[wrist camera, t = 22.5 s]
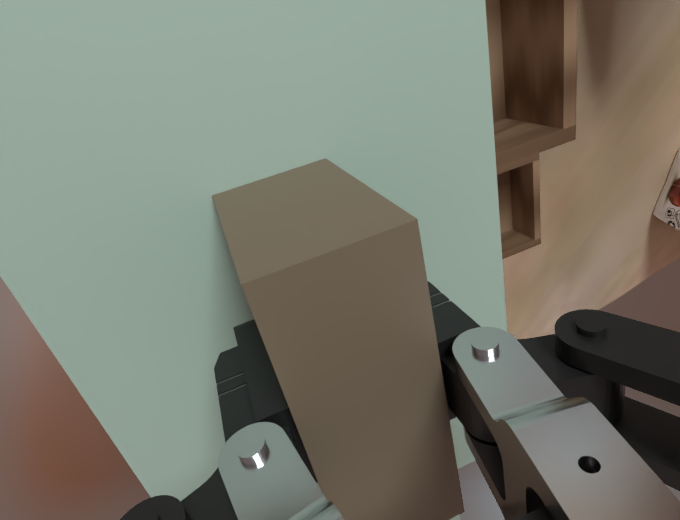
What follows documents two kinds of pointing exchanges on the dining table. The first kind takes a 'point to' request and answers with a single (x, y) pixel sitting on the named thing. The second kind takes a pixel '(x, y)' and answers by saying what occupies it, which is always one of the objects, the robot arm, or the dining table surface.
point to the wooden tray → (529, 103)
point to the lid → (256, 223)
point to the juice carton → (670, 197)
